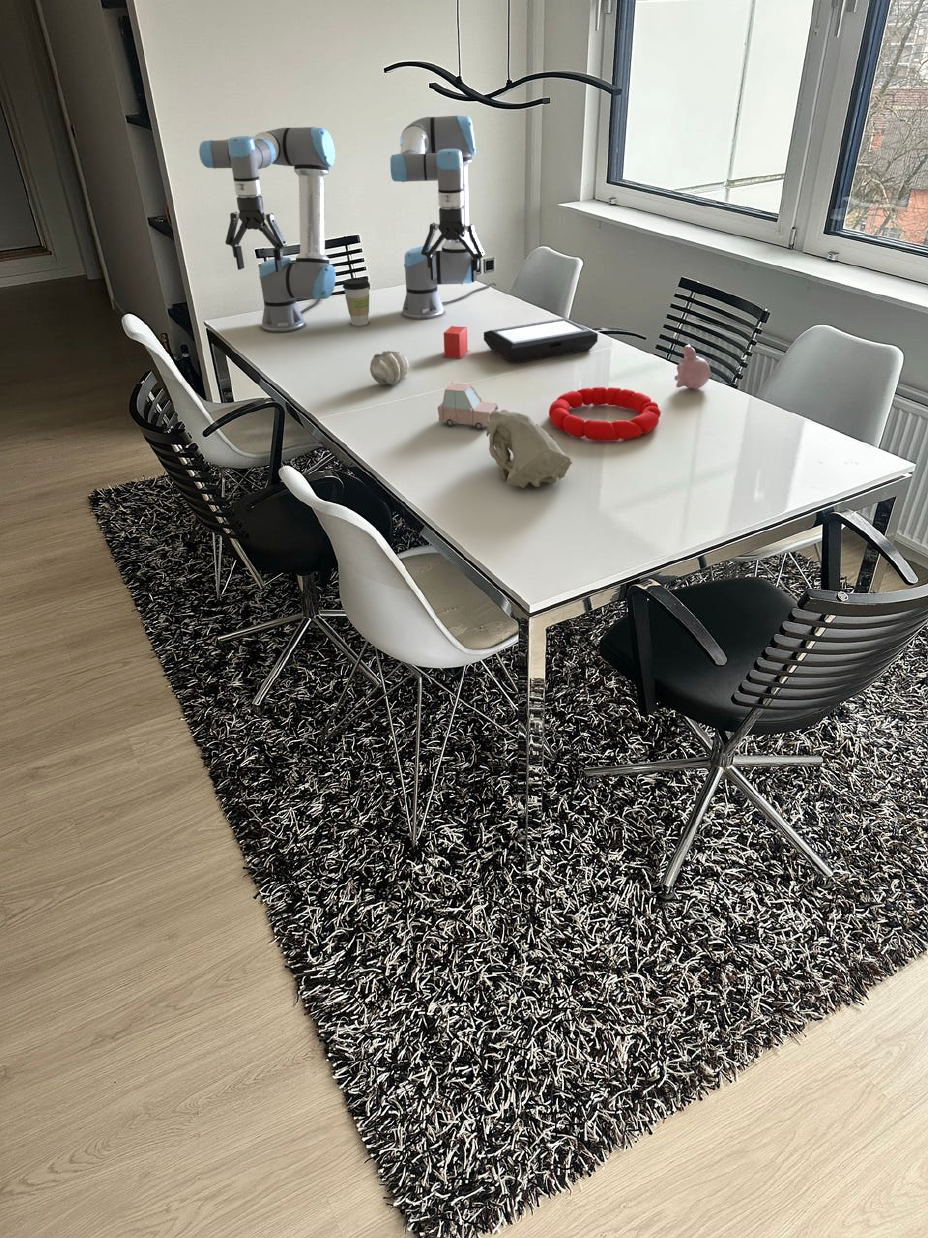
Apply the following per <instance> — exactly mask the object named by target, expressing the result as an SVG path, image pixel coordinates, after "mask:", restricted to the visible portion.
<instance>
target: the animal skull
mask: <svg viewBox="0 0 928 1238" xmlns="http://www.w3.org/2000/svg"><path fill="white" fill-rule="evenodd" d="M485 436H486V438H487V437H489V438H488V440H489V444H488V445H489V446H488V450H489V454H490V456H491V457H492V458H493V459H494V460H495V462H496V464H497V466H499V468H500V470H501V471H502V472H501V478H502V479H507V480H506V484H507V486H517V487H518V486H519V488H523V489H524V488H526V486H527V485H529V483H531V485H533V486H534V487H536V488H540V485H541V484H542V482H544V483H549V484H550V485H553V484H555V483H556V482H557V480H561V479H563V478H565V476H566V474H567V472H568V471H569V469H570V467H571V466H572V464H573V462H572V461H571V458H570V457H568V456H567V455H565V453H564V451H562V449H561V448H560V446H559V444H557V443H556V439H555V438H554V436H553V435H551V434H550V433H548V432H547V431H546V430H545V429H544V428H542V427H541V426H539V425H538V424H537V423H536V424H535V422H534V421H533V419H532V418H531V417H530V416H529V415H527V414H524V413H519V412H515V411H509V410H507V409H502V410H500V411H499V410H497V411H496V412H492V413H491V414H490V422H488V423H487V427H486V435H485ZM511 453H512V454H511ZM511 455H512V457H513V458H512V460H511ZM507 474H508V475H507Z"/></svg>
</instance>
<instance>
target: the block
mask: <svg viewBox="0 0 928 1238" xmlns="http://www.w3.org/2000/svg"><path fill="white" fill-rule="evenodd" d="M468 350H469V348H468V327H467V326H454V325H451V326H450V327H449V328H448V329H446V330H444V332H443V351H444V352H443V355H444V358H448V359H459V360H460V359H461V358H462V357H464V355H466V354H467V353H468V352H469V351H468Z"/></svg>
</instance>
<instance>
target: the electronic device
mask: <svg viewBox="0 0 928 1238" xmlns="http://www.w3.org/2000/svg"><path fill="white" fill-rule="evenodd" d="M598 337H599V333H597V332H595V331H594V330H591V329H589V328H587V327H585V326H583V325H581V324H579V323H577V322H575V321H574V320H571V319H570V318H567V317H564V318H558V319H552V320H544V321H540V322H533V323H526V324H521V325H515V326H508V327H502V328H497V329H496V328H495V329H491V330H487V331H484V332H483V341H484V343H485V344H486V345H487V346H488V348H489V349H490V350H491V351H493V352H495V353H496V354H497V355H500V356H501V357H502V358H505V359H506V360H507V361H509V362H510V363H511V364H515V363H520V362H527V361H533V360H538V359H543V358H544V359H545V358H550V357H551V358H552V357H556V356H561V355H566V354H567V355H568V354H572V353H579V352H584V351H589V350H591V349H593V347H595V345H596V344H597V343H598V341H599V340H598Z"/></svg>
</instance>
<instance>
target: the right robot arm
mask: <svg viewBox="0 0 928 1238" xmlns="http://www.w3.org/2000/svg"><path fill="white" fill-rule="evenodd" d="M399 145H400V152H399V153H395V154H391V156H390V158H389V160H390V161H389V163H390V164H389V166H390V176H391V180H392V182H398V183H399V182H402V183H405V182H407V183H409V182H425V181H426V182H433V181H434V182H435V181H436V182H437V191H438V192H437V194H438V207H439V208H438V220H439V223H438V224H437V223H436V222H432V223H430V224H429V228H428V230H429V231H428V234H427V235H426V239H425V241H424V244H423V245H422V246H416V247H413V248H410V249H409V250H407V251H406V252H405V254H404V265H403V266H404V272H405V273H404V274H405V290H406V291H405V293H406V294H405V297H404V301H403V305H402V315H403V316H404V317H406V318H408V319H413V320H428V319H434V318H438V317H441V316H442V315H443V314H444V305H445V304H446V305H447V304H451V303H455V302H457V301H461V300H463V299H465V298H467V297H468V296H470V295H472V294H474V293H476V292H478V291H482V290H485V289H487V288H490V287H491V286H494V287H495V286H497V284H496V283H495V282H491V283H489V284H488V285H486V286H482V287H479V288H476V289H474V290H471V291H470V292H468V293H467V294H465V295H463V296H460V297H458V298H455V299H451V300H448V301H447V300H446V301H442V300H441V298H440V295H439V291H438V290H439V289H438V286H440V285H461V286H463V285H467V284H472V283H475V282H476V281H477V271H479V270H480V259H482V258H483V257H485V255H486V253H485V251H484V249H483V247H482V244H481V241H480V240H479V238H478V236H477V233H476V231H475V225H474V223H471V224H470V213H469V211H470V210H469V165H470V164H471V162H472V160H473V156H475V155H476V154H477V151H476V142H475V134H474V129H473V122H472V119H471V118H470V117H469V116H467V115H445V116H443V115H442V116H426V117H425V116H424V117H422V118H419V119H416V120H414V121H412V122H411V123H410V124H408V125H407V126H406V127H405V128H404V129H403V131H402V133H401V135H400V138H399ZM438 230H439V232H440V235H439V236H438V238H437V240H436V241H435V242H434V243H433V244H432V242H433V240H434V237H435V235H436V232H437V231H438ZM440 246H441V250H438V249H439V247H440Z"/></svg>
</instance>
